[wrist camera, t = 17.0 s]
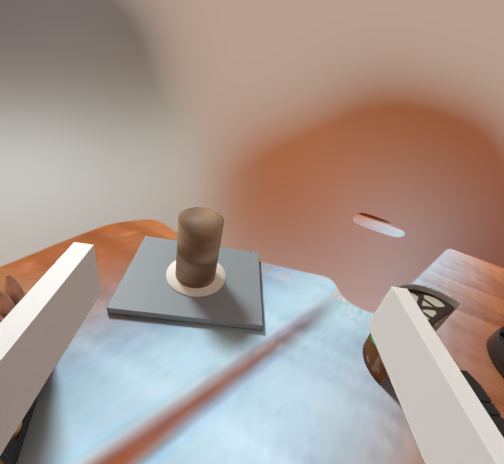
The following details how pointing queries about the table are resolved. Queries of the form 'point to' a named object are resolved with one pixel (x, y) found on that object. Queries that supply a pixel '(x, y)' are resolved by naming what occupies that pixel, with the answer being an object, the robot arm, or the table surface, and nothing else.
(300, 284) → the table surface
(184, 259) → the brown cylinder
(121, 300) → the seat board
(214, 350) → the table surface
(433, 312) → the food container
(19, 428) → the ammunition clip
